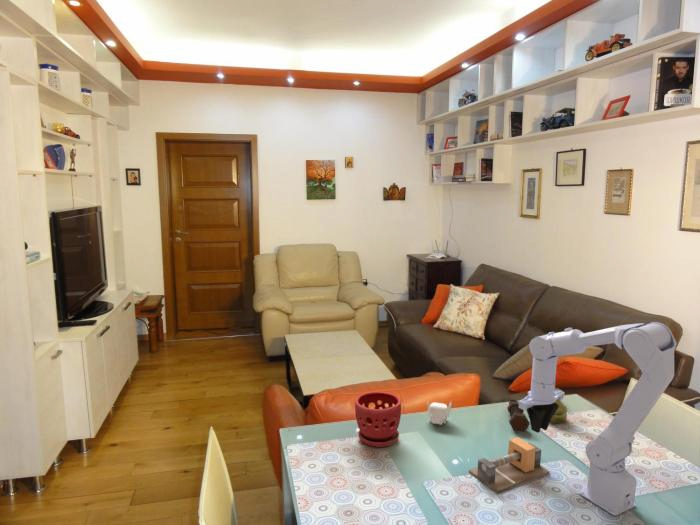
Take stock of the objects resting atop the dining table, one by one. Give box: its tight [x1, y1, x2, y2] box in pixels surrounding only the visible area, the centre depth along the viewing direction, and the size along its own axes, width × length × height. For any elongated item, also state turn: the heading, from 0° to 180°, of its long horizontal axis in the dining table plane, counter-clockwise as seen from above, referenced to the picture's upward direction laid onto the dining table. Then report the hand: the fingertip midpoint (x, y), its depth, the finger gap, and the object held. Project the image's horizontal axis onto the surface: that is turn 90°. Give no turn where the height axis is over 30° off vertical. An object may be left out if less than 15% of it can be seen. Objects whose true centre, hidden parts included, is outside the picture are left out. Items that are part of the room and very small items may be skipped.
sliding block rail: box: [468, 442, 551, 494], centre depth 128 cm, size 10×18×5 cm, turn 119°
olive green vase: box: [549, 387, 569, 425], centre depth 157 cm, size 7×7×10 cm
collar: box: [507, 436, 536, 473], centre depth 130 cm, size 6×3×6 cm, turn 29°
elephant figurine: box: [426, 397, 453, 426], centre depth 154 cm, size 8×10×7 cm
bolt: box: [506, 399, 531, 433], centre depth 157 cm, size 6×5×15 cm
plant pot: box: [354, 391, 402, 448], centre depth 143 cm, size 13×13×12 cm
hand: (539, 429), depth 132 cm, fingers open, 2 cm apart
